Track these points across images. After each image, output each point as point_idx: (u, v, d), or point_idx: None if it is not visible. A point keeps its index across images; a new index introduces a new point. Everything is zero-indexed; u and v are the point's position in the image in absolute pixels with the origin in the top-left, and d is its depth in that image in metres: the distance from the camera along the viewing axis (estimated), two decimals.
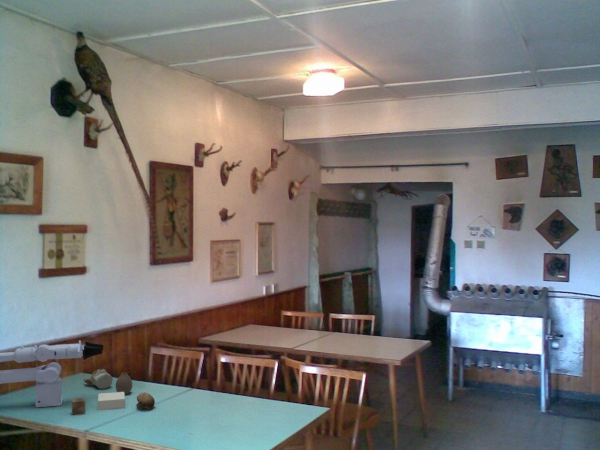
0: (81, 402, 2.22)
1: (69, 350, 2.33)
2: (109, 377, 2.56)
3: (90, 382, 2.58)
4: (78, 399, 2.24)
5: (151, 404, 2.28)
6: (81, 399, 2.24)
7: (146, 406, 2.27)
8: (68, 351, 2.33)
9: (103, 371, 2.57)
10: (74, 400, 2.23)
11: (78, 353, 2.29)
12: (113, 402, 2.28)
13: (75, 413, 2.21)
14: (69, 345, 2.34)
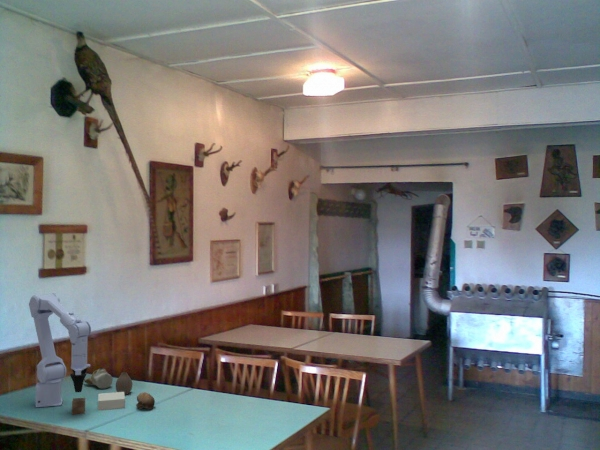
0: (81, 402, 2.22)
1: (80, 358, 2.21)
2: (109, 377, 2.56)
3: (90, 382, 2.58)
4: (78, 399, 2.24)
5: (151, 404, 2.28)
6: (81, 399, 2.24)
7: (146, 406, 2.27)
8: (80, 357, 2.21)
9: (103, 371, 2.58)
10: (74, 400, 2.23)
11: (78, 371, 2.17)
12: (113, 402, 2.28)
13: (75, 413, 2.21)
14: (86, 357, 2.23)
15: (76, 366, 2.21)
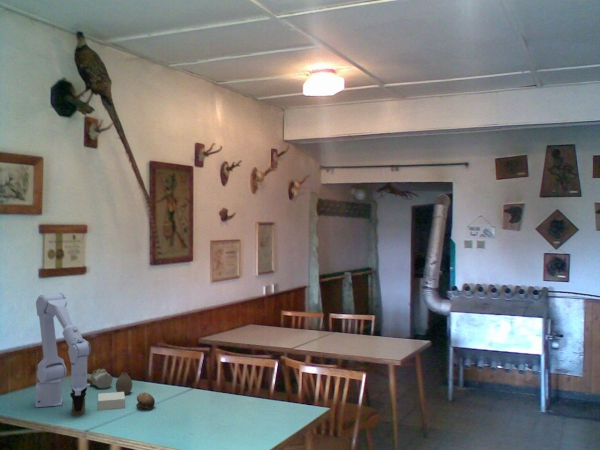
0: None
1: (80, 378, 2.21)
2: (109, 377, 2.56)
3: (90, 382, 2.58)
4: None
5: (151, 404, 2.28)
6: None
7: (146, 406, 2.27)
8: (79, 377, 2.21)
9: (103, 371, 2.58)
10: None
11: (78, 391, 2.17)
12: (113, 402, 2.28)
13: (75, 413, 2.21)
14: (85, 376, 2.23)
15: (76, 386, 2.21)
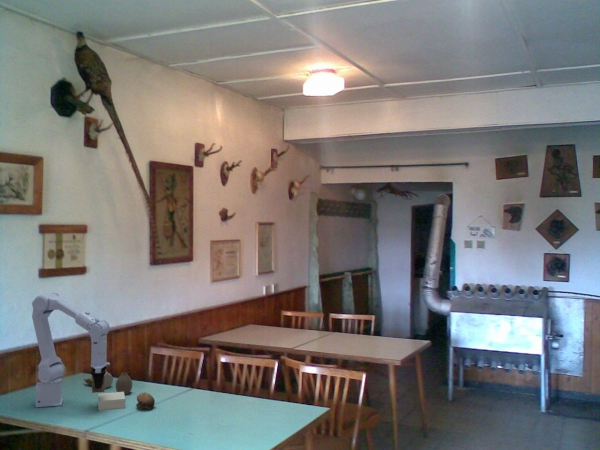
0: None
1: (100, 356, 2.27)
2: (110, 376, 2.56)
3: (90, 382, 2.58)
4: None
5: (151, 404, 2.28)
6: None
7: (146, 406, 2.27)
8: (99, 355, 2.26)
9: None
10: None
11: (98, 369, 2.22)
12: (113, 402, 2.28)
13: (95, 391, 2.27)
14: (105, 355, 2.28)
15: (96, 364, 2.26)
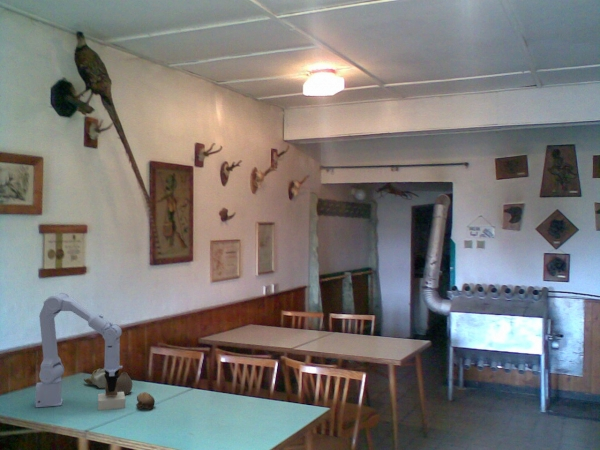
0: None
1: (113, 359, 2.31)
2: None
3: (90, 382, 2.58)
4: None
5: (151, 404, 2.28)
6: None
7: (146, 406, 2.27)
8: (113, 359, 2.30)
9: (103, 370, 2.58)
10: None
11: (112, 372, 2.26)
12: (113, 402, 2.28)
13: (108, 394, 2.31)
14: (118, 358, 2.32)
15: (109, 367, 2.30)
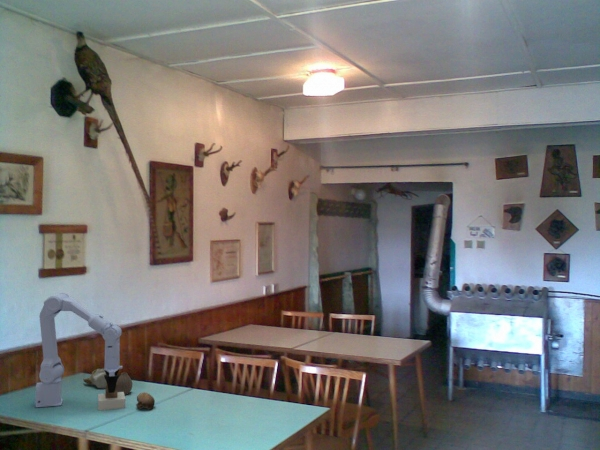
0: None
1: (113, 359, 2.31)
2: None
3: (89, 382, 2.58)
4: None
5: (151, 404, 2.28)
6: None
7: (146, 406, 2.27)
8: (113, 359, 2.30)
9: (102, 370, 2.58)
10: None
11: (112, 372, 2.26)
12: (113, 402, 2.28)
13: (108, 396, 2.30)
14: (118, 359, 2.32)
15: (109, 368, 2.30)
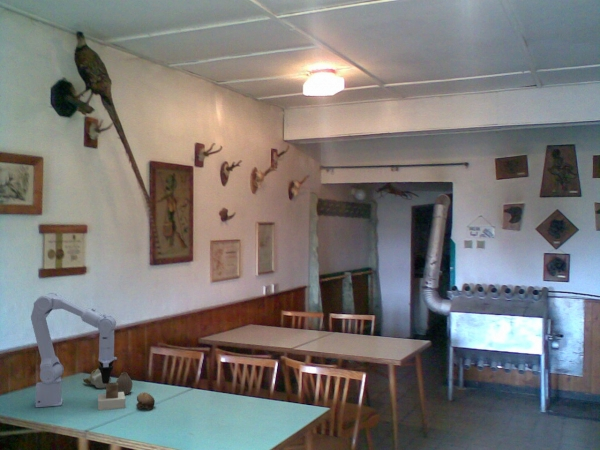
0: (115, 386, 2.31)
1: (107, 351, 2.32)
2: None
3: (89, 381, 2.58)
4: (111, 383, 2.33)
5: (151, 404, 2.28)
6: (114, 383, 2.34)
7: (146, 406, 2.27)
8: (107, 350, 2.32)
9: None
10: (108, 384, 2.32)
11: (106, 363, 2.28)
12: (113, 402, 2.29)
13: (109, 397, 2.30)
14: (112, 350, 2.34)
15: (104, 359, 2.32)
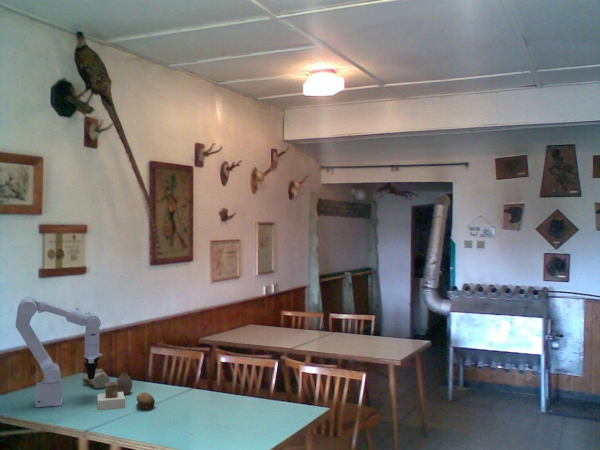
0: (114, 386, 2.31)
1: (93, 347, 2.38)
2: (106, 377, 2.56)
3: (87, 381, 2.58)
4: (111, 383, 2.33)
5: (151, 404, 2.28)
6: (114, 383, 2.34)
7: (146, 406, 2.27)
8: (92, 346, 2.37)
9: (100, 370, 2.58)
10: (107, 384, 2.32)
11: (91, 359, 2.33)
12: (113, 402, 2.29)
13: (108, 396, 2.31)
14: (98, 346, 2.39)
15: (89, 355, 2.37)
